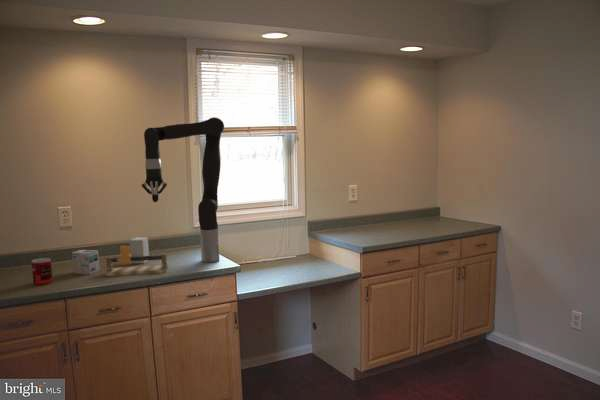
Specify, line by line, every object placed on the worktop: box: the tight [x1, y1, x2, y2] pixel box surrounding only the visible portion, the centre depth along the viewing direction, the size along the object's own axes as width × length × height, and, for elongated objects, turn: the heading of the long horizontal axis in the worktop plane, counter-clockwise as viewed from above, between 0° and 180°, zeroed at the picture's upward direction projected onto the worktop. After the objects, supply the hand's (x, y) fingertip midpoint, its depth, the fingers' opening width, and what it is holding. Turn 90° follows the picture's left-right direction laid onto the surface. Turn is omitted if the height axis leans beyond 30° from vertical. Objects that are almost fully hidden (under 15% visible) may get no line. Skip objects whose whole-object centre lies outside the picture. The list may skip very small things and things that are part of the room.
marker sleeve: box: [119, 245, 133, 266], centre depth 240 cm, size 5×4×9 cm
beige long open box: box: [105, 253, 169, 277], centre depth 241 cm, size 28×10×8 cm, turn 99°
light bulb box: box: [71, 249, 101, 276], centre depth 241 cm, size 11×7×11 cm, turn 71°
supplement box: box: [128, 237, 150, 264], centre depth 260 cm, size 7×7×13 cm
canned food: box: [31, 257, 54, 286], centre depth 224 cm, size 8×8×11 cm
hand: (155, 201), depth 249 cm, fingers closed
